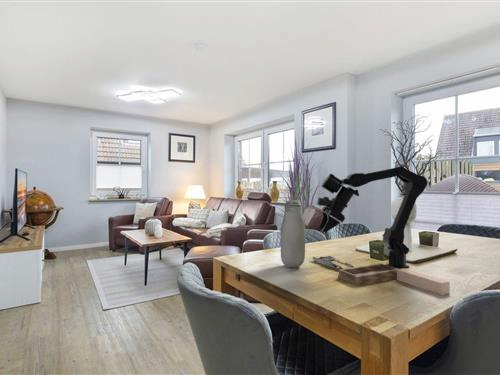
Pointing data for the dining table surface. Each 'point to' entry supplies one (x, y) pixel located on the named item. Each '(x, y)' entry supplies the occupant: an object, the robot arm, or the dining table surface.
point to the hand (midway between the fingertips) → (321, 230)
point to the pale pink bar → (424, 281)
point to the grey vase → (293, 235)
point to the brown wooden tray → (368, 274)
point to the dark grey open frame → (328, 262)
